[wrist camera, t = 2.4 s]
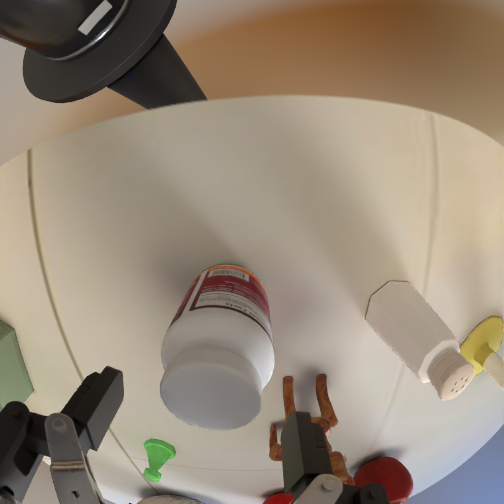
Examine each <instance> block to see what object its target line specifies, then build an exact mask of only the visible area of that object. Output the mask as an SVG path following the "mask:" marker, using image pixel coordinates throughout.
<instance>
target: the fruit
mask: <svg viewBox="0 0 504 504" xmlns="http://www.w3.org/2000/svg"><path fill="white" fill-rule="evenodd" d="M292 500H293V495H292V494H285V492H281V493H278V494H275V495H272V496H270V497H268V498H267V499H266V500H265V501H264V503H263V504H289V503H290V502H291V501H292Z"/></svg>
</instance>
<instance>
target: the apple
mask: <svg viewBox="0 0 504 504" xmlns="http://www.w3.org/2000/svg"><path fill="white" fill-rule="evenodd" d="M353 480H354V483H355V486H358V487H363V486H364V485H365V484H367V483H371V482H375V483H379V484H381V485H382V486H383V487H384V488H385V489H386V492H387V495H388V499H389V503H390V504H401V503H403V502H404V501H406V500H407V499H408V497H409V496H410V495H411V493H412V490H413V480H412V477H411V475H410V473H409V471H408V470H407V469H406V467H405V466H404V465H403V464H402V463H401V462H399V461H398V460H396V459H394V458H391V457H381V458H377V459H374V460H371V461H369V462H367V463H365V464H364V465H362V466H361V467H360V468H359V469H358V471H357V472H356V473H355V476H354V478H353Z"/></svg>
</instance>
